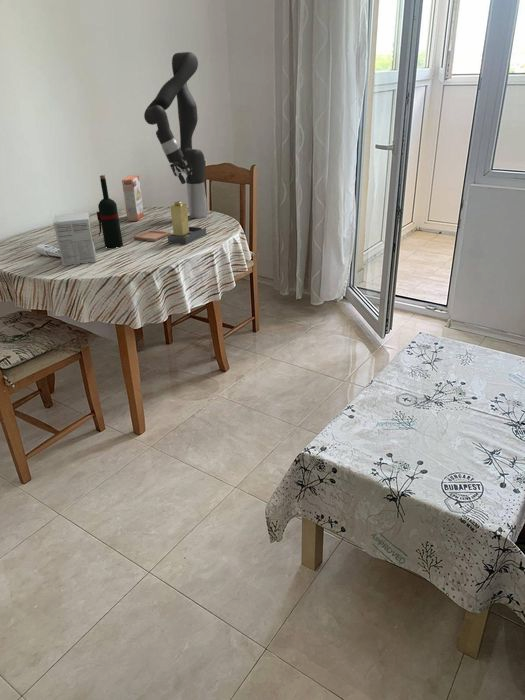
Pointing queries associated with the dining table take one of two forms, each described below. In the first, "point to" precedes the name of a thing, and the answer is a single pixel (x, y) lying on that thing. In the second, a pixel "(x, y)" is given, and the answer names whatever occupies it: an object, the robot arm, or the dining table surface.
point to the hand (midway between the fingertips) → (188, 182)
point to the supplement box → (75, 238)
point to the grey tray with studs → (188, 236)
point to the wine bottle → (109, 219)
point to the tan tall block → (179, 219)
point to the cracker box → (132, 198)
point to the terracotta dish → (152, 235)
